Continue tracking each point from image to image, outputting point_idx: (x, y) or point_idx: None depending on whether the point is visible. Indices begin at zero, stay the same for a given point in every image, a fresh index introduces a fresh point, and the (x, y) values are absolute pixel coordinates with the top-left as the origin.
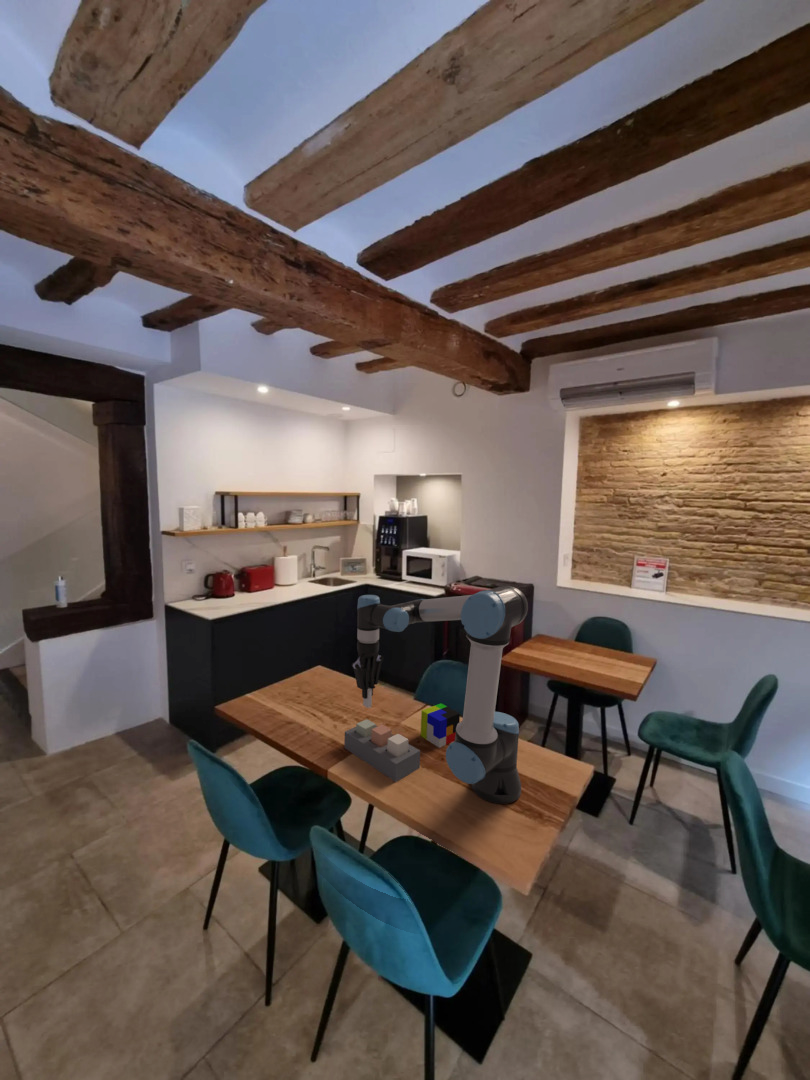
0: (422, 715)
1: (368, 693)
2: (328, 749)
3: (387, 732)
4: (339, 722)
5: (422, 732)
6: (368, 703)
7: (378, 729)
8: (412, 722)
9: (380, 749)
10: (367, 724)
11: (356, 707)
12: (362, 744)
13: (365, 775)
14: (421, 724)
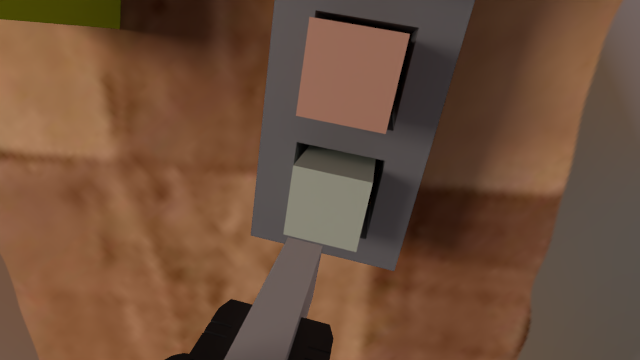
0: (23, 10)
1: (288, 348)
2: (436, 270)
3: (348, 23)
4: None
5: (104, 14)
6: (312, 269)
7: (359, 95)
8: (77, 121)
9: (436, 15)
10: (325, 200)
11: (162, 336)
12: (431, 141)
13: (520, 35)
14: (73, 21)
